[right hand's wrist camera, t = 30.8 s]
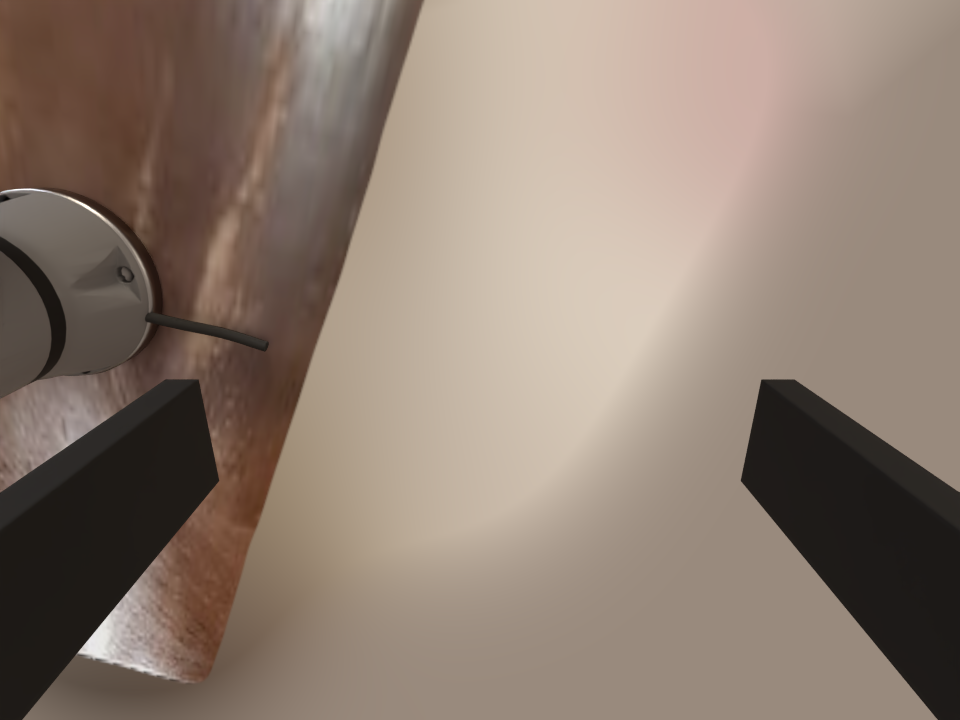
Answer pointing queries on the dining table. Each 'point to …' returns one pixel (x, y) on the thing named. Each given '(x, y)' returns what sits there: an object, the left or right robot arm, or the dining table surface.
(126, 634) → the dining table surface
